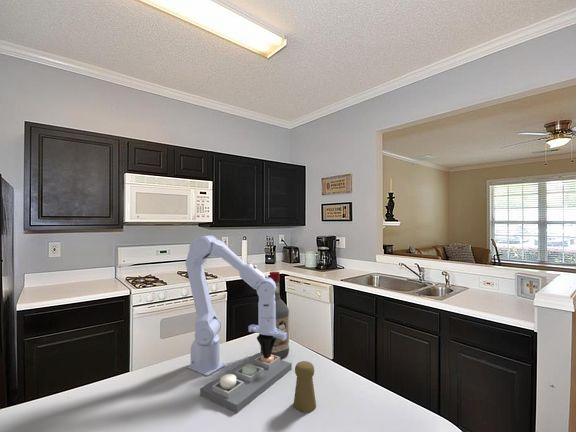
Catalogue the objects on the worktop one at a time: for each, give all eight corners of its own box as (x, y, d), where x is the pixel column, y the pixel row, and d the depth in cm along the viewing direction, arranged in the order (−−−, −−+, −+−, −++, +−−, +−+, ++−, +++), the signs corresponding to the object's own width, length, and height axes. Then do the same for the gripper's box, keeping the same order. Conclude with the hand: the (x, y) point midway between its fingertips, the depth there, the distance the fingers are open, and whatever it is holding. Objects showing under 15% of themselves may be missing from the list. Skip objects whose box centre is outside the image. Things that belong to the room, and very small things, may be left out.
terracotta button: (257, 363, 96) (257, 357, 96) (265, 358, 100) (265, 352, 100) (268, 366, 94) (268, 361, 94) (276, 361, 97) (276, 355, 97)
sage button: (239, 375, 88) (239, 369, 88) (248, 369, 92) (248, 363, 92) (250, 379, 86) (250, 373, 86) (259, 373, 90) (259, 367, 90)
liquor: (257, 353, 108) (257, 272, 109) (278, 346, 114) (277, 269, 114) (271, 362, 101) (271, 275, 101) (292, 355, 106) (291, 272, 107)
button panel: (200, 395, 82) (200, 383, 82) (258, 358, 104) (258, 349, 104) (237, 413, 74) (237, 399, 74) (291, 369, 96) (291, 358, 96)
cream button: (216, 386, 81) (216, 379, 81) (228, 378, 85) (228, 372, 85) (228, 391, 79) (228, 384, 79) (239, 383, 82) (239, 376, 82)
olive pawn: (315, 414, 74) (314, 370, 74) (291, 411, 75) (291, 368, 75) (317, 399, 80) (317, 359, 80) (295, 397, 81) (295, 357, 81)
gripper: (291, 316, 96) (292, 357, 96) (257, 309, 104) (257, 347, 104) (279, 322, 90) (280, 366, 90) (244, 314, 98) (244, 355, 98)
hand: (267, 357), depth 97 cm, fingers closed, pressing on terracotta button
